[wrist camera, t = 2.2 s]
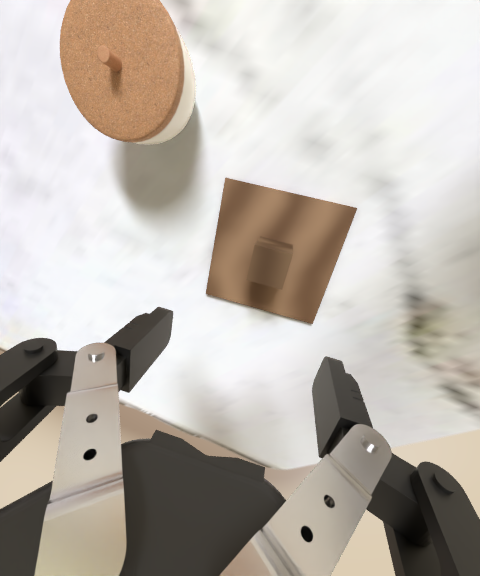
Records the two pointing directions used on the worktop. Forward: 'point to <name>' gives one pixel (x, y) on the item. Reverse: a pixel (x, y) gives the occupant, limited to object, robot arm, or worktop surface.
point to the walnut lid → (276, 249)
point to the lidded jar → (127, 69)
